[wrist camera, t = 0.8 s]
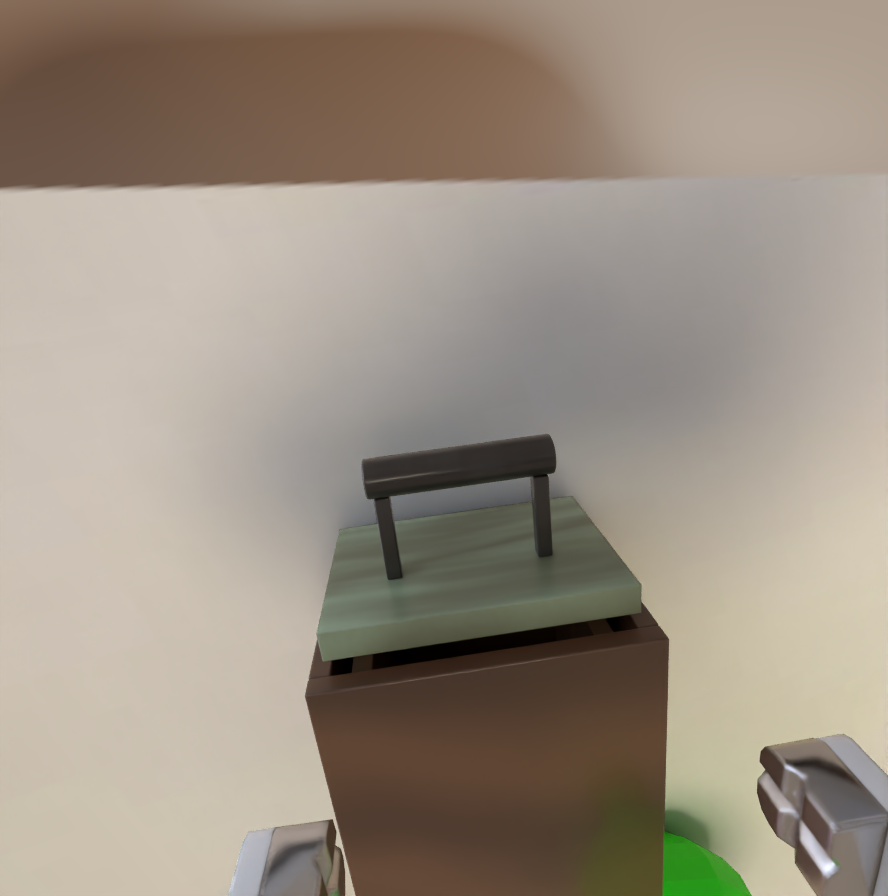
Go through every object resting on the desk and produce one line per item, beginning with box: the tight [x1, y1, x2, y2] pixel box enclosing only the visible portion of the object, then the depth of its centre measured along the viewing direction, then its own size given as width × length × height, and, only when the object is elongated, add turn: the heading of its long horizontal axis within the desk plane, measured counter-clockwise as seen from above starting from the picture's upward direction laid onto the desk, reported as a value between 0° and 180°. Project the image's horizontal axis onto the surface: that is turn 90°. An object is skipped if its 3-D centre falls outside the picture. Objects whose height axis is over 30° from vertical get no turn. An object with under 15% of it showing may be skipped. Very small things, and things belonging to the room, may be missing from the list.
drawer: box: [317, 434, 641, 673], centre depth 23 cm, size 18×11×8 cm, turn 7°
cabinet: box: [305, 602, 669, 896], centre depth 25 cm, size 15×13×10 cm
